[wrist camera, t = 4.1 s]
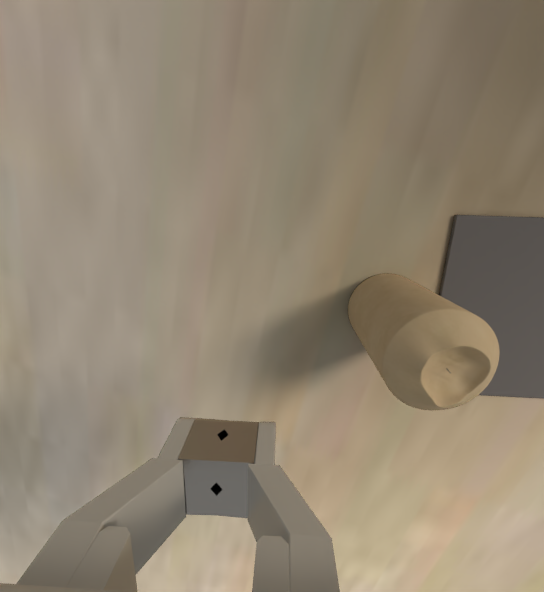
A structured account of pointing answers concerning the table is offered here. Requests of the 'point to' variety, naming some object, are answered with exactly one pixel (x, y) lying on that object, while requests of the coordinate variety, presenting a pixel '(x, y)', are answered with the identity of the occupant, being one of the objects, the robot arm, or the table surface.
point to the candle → (423, 342)
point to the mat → (502, 293)
